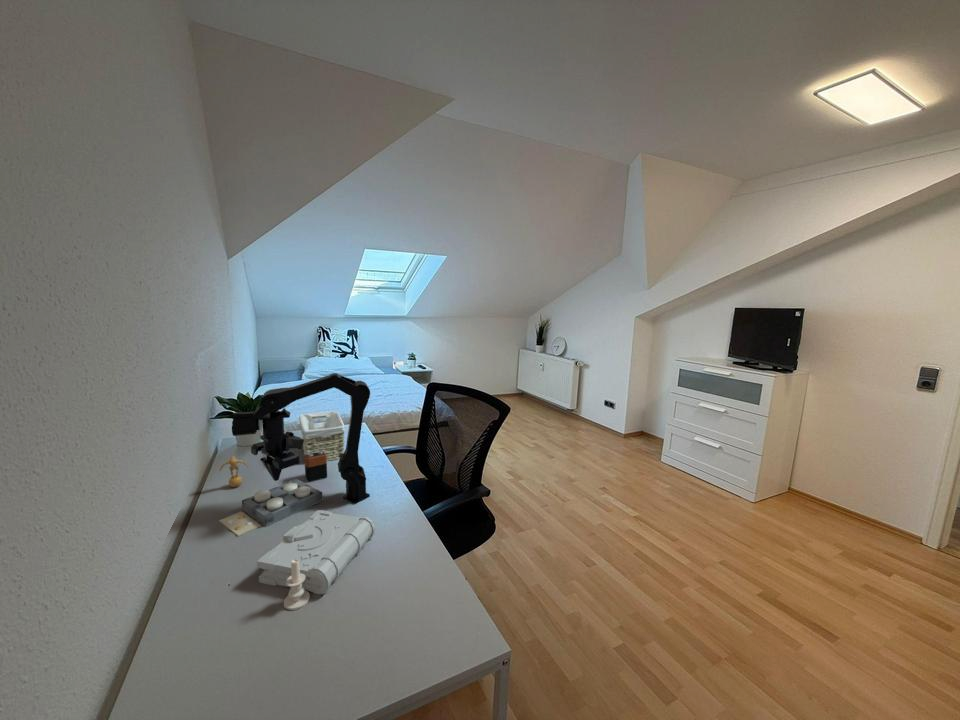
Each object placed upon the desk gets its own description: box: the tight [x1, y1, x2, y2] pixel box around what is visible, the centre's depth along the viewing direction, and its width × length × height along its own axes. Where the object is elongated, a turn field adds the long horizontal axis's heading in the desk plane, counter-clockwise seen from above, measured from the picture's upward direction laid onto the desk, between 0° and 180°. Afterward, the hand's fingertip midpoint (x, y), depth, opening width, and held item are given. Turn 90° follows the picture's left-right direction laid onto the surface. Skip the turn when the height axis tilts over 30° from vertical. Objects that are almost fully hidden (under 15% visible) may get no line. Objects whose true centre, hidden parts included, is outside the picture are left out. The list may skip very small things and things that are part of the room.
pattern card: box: [219, 511, 261, 537], centre depth 112 cm, size 12×6×1 cm, turn 56°
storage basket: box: [298, 410, 346, 462], centre depth 163 cm, size 24×16×15 cm
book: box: [256, 509, 376, 595], centre depth 101 cm, size 19×28×8 cm
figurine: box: [219, 455, 249, 488], centre depth 132 cm, size 8×6×12 cm
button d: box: [253, 489, 271, 503], centre depth 121 cm, size 4×4×2 cm
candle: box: [283, 559, 311, 611], centre depth 84 cm, size 5×5×10 cm
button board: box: [241, 478, 324, 527], centre depth 123 cm, size 15×18×3 cm
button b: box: [283, 483, 298, 492], centre depth 128 cm, size 4×4×2 cm
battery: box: [303, 450, 328, 483], centre depth 141 cm, size 4×7×10 cm, turn 127°
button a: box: [295, 486, 310, 499], centre depth 124 cm, size 4×4×2 cm
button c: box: [267, 497, 283, 511], centre depth 116 cm, size 4×4×2 cm
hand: (276, 480), depth 118 cm, fingers closed
